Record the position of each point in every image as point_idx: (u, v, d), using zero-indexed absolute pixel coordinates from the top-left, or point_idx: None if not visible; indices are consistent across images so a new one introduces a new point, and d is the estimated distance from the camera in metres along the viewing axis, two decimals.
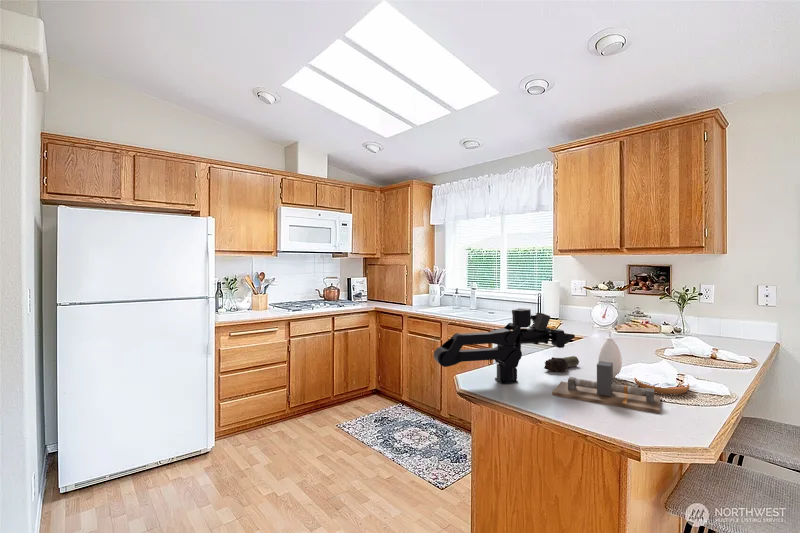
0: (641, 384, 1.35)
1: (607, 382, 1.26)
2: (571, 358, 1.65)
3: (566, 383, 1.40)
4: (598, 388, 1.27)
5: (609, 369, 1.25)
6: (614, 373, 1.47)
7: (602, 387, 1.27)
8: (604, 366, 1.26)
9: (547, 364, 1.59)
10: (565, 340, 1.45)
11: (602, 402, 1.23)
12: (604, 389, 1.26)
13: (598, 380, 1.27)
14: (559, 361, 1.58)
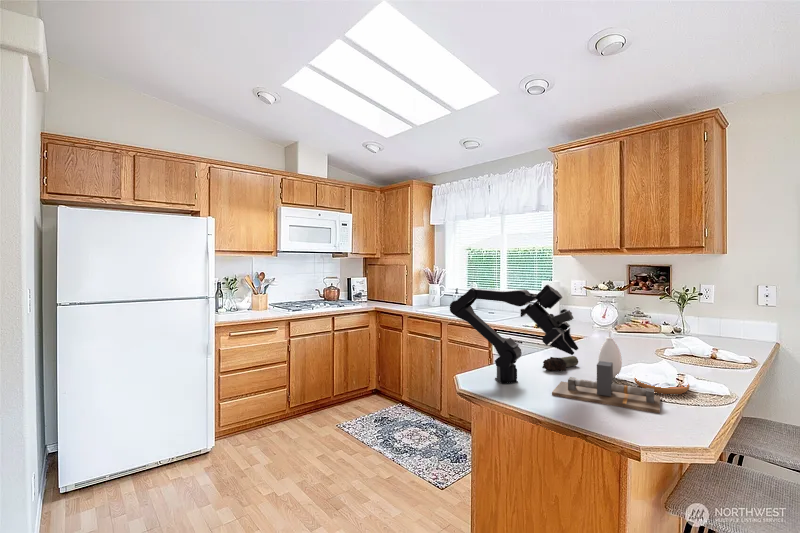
0: (641, 384, 1.35)
1: (607, 382, 1.26)
2: (570, 358, 1.66)
3: (566, 383, 1.40)
4: (598, 388, 1.27)
5: (609, 369, 1.25)
6: (614, 373, 1.47)
7: (602, 387, 1.27)
8: (604, 366, 1.26)
9: (545, 363, 1.60)
10: (559, 346, 1.32)
11: (602, 402, 1.23)
12: (604, 389, 1.26)
13: (598, 380, 1.27)
14: (557, 361, 1.59)
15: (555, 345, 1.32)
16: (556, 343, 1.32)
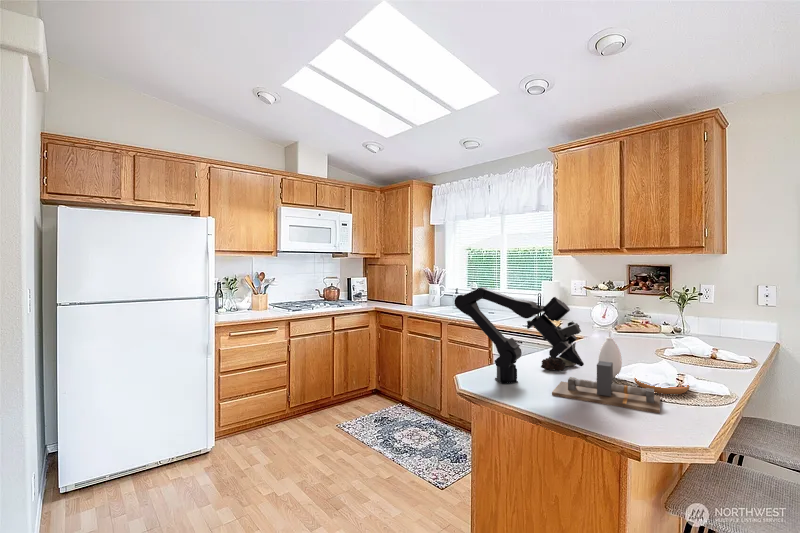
0: (641, 384, 1.35)
1: (607, 382, 1.26)
2: None
3: (566, 383, 1.40)
4: (598, 388, 1.27)
5: (609, 369, 1.25)
6: (614, 373, 1.47)
7: (602, 387, 1.27)
8: (604, 366, 1.26)
9: (544, 363, 1.61)
10: (568, 357, 1.33)
11: (602, 402, 1.23)
12: (604, 389, 1.26)
13: (598, 380, 1.27)
14: (556, 360, 1.60)
15: (564, 356, 1.34)
16: (565, 354, 1.34)
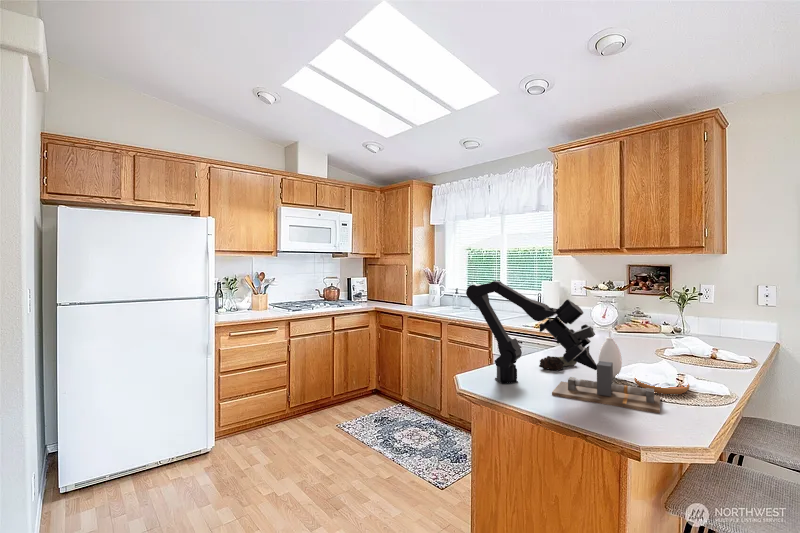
0: (641, 384, 1.35)
1: (607, 382, 1.26)
2: None
3: (566, 383, 1.40)
4: (598, 388, 1.27)
5: (609, 369, 1.25)
6: (614, 373, 1.47)
7: (602, 387, 1.27)
8: (604, 366, 1.26)
9: (542, 362, 1.62)
10: (582, 361, 1.31)
11: (602, 402, 1.23)
12: (604, 389, 1.26)
13: (598, 380, 1.27)
14: (553, 360, 1.60)
15: (578, 360, 1.31)
16: (579, 358, 1.31)
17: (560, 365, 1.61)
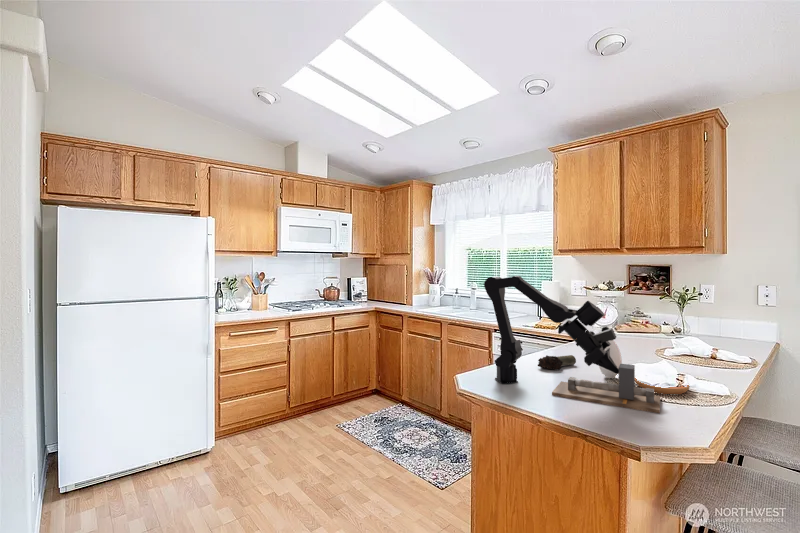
0: (641, 384, 1.35)
1: (629, 385, 1.22)
2: (567, 357, 1.67)
3: (566, 383, 1.40)
4: (620, 391, 1.24)
5: (632, 372, 1.22)
6: (614, 373, 1.47)
7: (624, 390, 1.23)
8: (626, 369, 1.23)
9: (540, 362, 1.63)
10: (603, 364, 1.27)
11: (602, 402, 1.23)
12: (626, 392, 1.23)
13: (620, 383, 1.24)
14: (552, 359, 1.61)
15: (599, 363, 1.28)
16: (600, 361, 1.28)
17: (559, 365, 1.61)
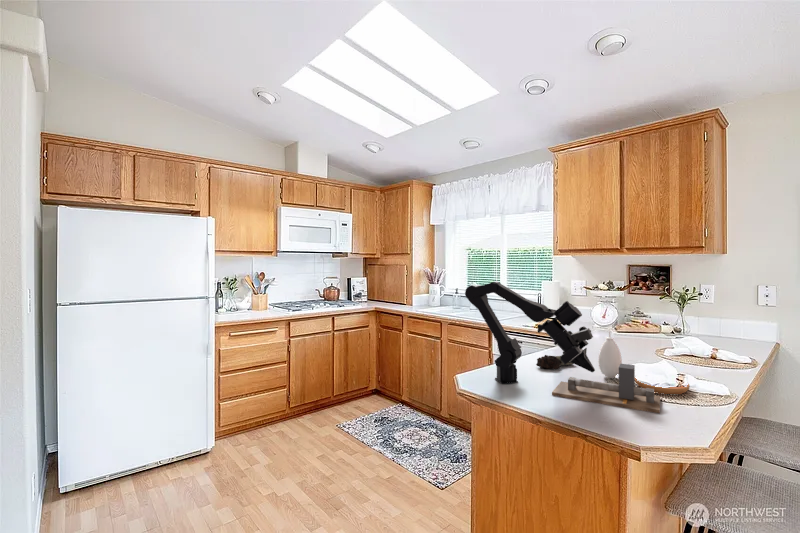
0: (641, 384, 1.35)
1: (629, 385, 1.22)
2: None
3: (566, 383, 1.40)
4: (620, 391, 1.24)
5: (632, 372, 1.22)
6: (614, 373, 1.47)
7: (624, 390, 1.23)
8: (626, 369, 1.23)
9: (539, 361, 1.64)
10: (579, 362, 1.31)
11: (602, 402, 1.23)
12: (626, 392, 1.23)
13: (620, 383, 1.24)
14: (550, 359, 1.62)
15: (575, 362, 1.32)
16: (576, 360, 1.32)
17: (557, 364, 1.62)
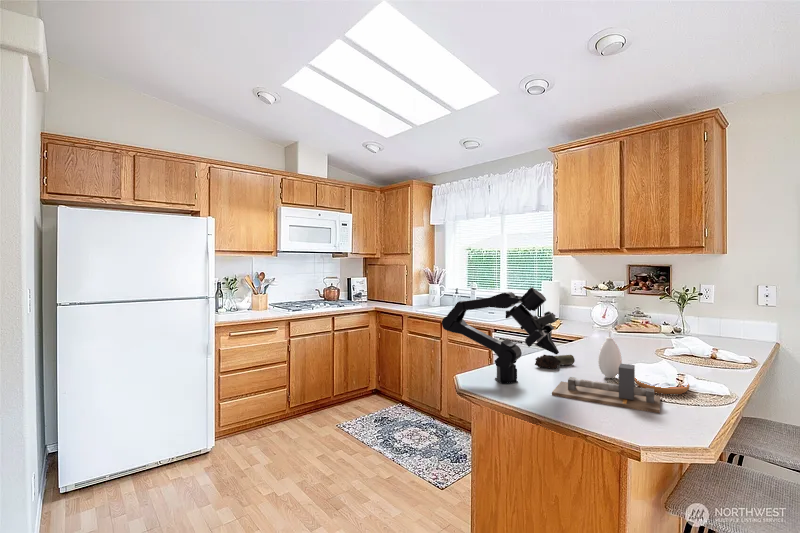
0: (641, 384, 1.35)
1: (629, 385, 1.22)
2: (566, 356, 1.68)
3: (566, 383, 1.40)
4: (620, 391, 1.24)
5: (632, 372, 1.22)
6: (614, 373, 1.47)
7: (624, 390, 1.23)
8: (626, 369, 1.23)
9: (537, 360, 1.65)
10: (544, 345, 1.38)
11: (602, 402, 1.23)
12: (626, 392, 1.23)
13: (620, 383, 1.24)
14: (549, 358, 1.63)
15: (540, 345, 1.38)
16: (541, 343, 1.38)
17: (555, 364, 1.63)
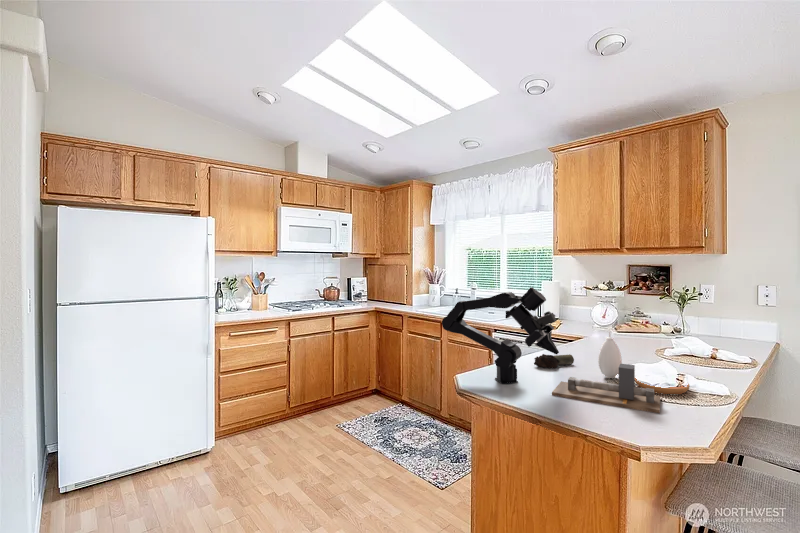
0: (641, 384, 1.35)
1: (629, 385, 1.22)
2: (565, 356, 1.69)
3: (566, 383, 1.40)
4: (620, 391, 1.24)
5: (632, 372, 1.22)
6: (614, 373, 1.47)
7: (624, 390, 1.23)
8: (626, 369, 1.23)
9: (536, 360, 1.66)
10: (544, 345, 1.38)
11: (602, 402, 1.23)
12: (626, 392, 1.23)
13: (620, 383, 1.24)
14: (548, 358, 1.64)
15: (540, 345, 1.38)
16: (541, 343, 1.38)
17: (554, 363, 1.64)
